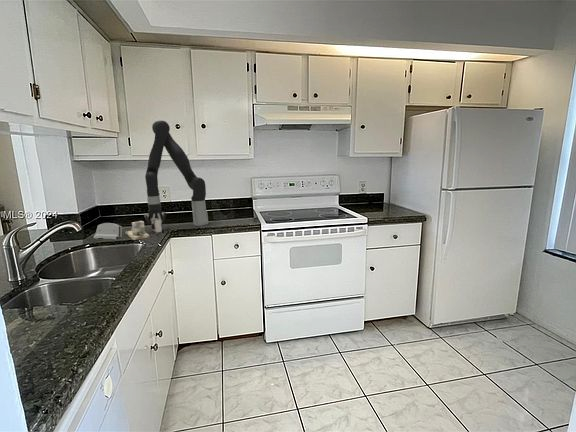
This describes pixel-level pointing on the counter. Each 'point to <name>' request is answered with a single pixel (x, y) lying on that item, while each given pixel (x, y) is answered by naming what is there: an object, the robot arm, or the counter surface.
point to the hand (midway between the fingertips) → (156, 228)
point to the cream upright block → (157, 225)
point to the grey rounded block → (108, 231)
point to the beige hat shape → (137, 231)
